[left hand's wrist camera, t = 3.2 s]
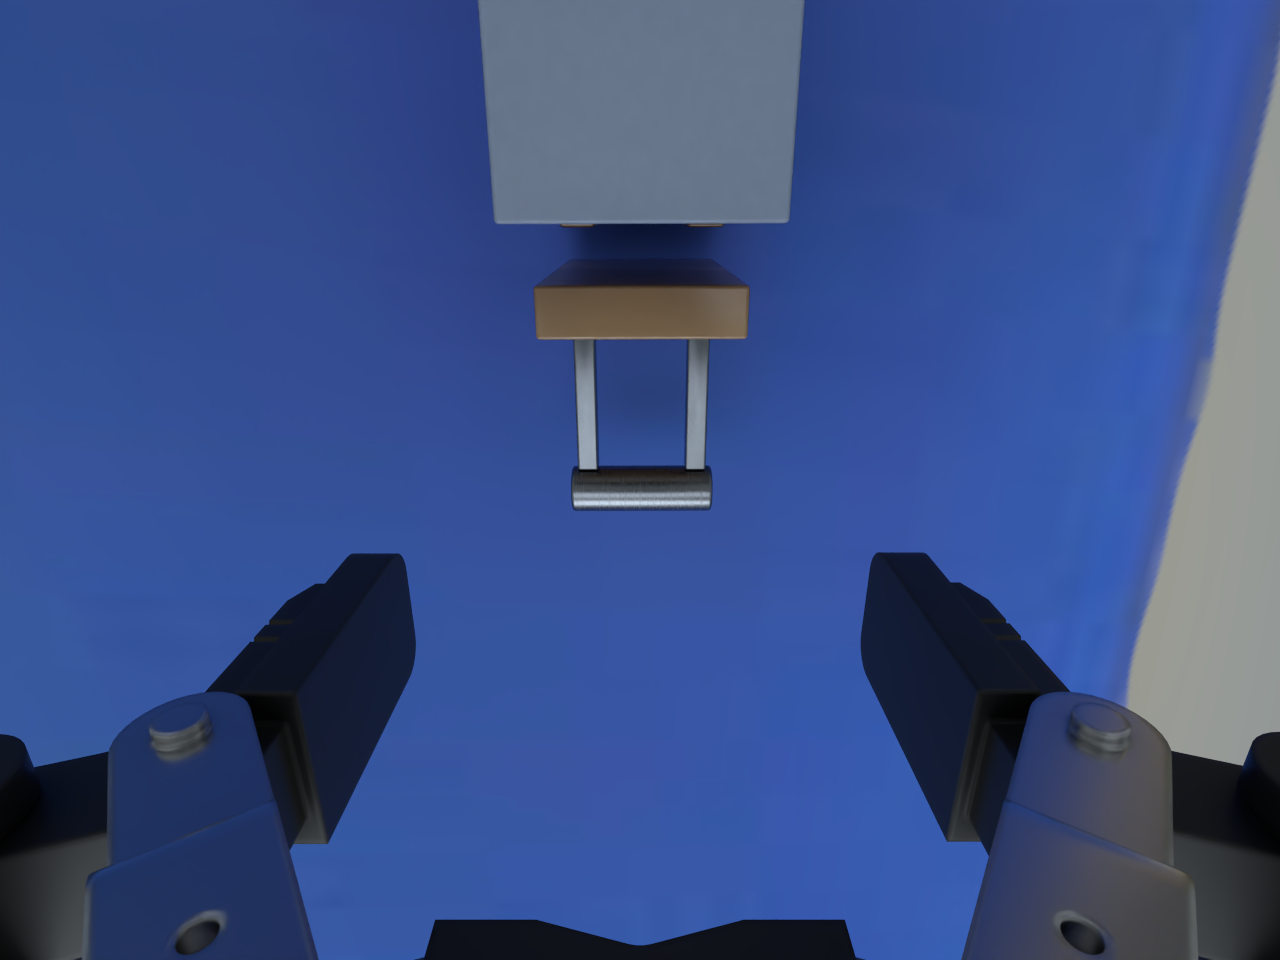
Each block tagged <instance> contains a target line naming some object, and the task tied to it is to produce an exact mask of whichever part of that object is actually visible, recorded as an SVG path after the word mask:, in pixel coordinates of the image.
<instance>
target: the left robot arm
mask: <svg viewBox="0 0 1280 960" xmlns="http://www.w3.org/2000/svg"><path fill="white" fill-rule="evenodd" d="M415 650H416V639H415V630H414V623H413V615H412V608H411V601H410V593H409V586H408V579H407V571H406V566H405V562H404V559H403V557H402V556H401V555H400V554H351V555H349V556H348V557H347V558H346V559H345V561H344V562H343V563H342V564H341V565H340V566H339V568H338V569H337V570H336V571H335V572H334V574H333V575H332V576H331V577H330V578H329V580H328V581H327V582H326V583H325V584H315V585H313V586H311V587H310V588H308V589H306V590H305V591H303V592H301V593H300V594H298V595H296V596H295V597H293V598H291V599H290V600H288V601H287V602H286V603H285V604H284V605H283V606H282V607H281V608H280V610H279V611H278V612H277V613H276V614H275V615H274V616H273V617H272V618H271V620H270V621H269V625H265V626H264V627H263V628H262V629H261V631H260V632H259V633H258V634H257V635H256V636H255V637H254V642H250V643H249V644H248V645H247V646H246V647H245V648H244V649H243V651H242V652H241V653H240V654H239V655H238V656H237V657H236V658H235V659H234V661H233V662H232V663H231V664H230V665H229V666H228V667H227V668H226V669H225V671H224V672H223V673H222V674H221V675H220V676H219V677H218V678H217V679H216V681H215V682H214V683H213V684H212V685H211V686H210V687H209V688H208V689H207V691H206V692H205V693H198V694H193V695H188V696H184V697H181V698H177V699H175V700H172V701H169V702H166V703H164V704H162V705H160V706H157V707H155V708H153V709H152V710H150V711H148V712H146V713H144V714H143V715H141V716H140V717H138V718H137V719H135V720H134V721H132V722H131V723H130V724H129V725H127V726H126V727H125V728H124V729H123V730H122V731H121V732H120V733H119V734H118V735H117V737H116V738H115V739H114V741H113V742H112V745H111V747H110V749H109V752H105V753H101V754H96V755H91V756H86V757H82V758H77V759H72V760H67V761H62V762H58V763H53V764H48V765H43V766H39V767H34V766H33V764H32V761H31V759H30V756H29V754H28V751H27V749H26V746H25V744H24V743H23V742H22V741H21V740H20V739H18V738H16V737H14V736H10V735H2V734H0V960H319V959H318V956H317V952H316V948H315V944H314V941H313V937H312V933H311V930H310V926H309V922H308V918H307V915H306V911H305V907H304V903H303V900H302V896H301V892H300V889H299V885H298V881H297V877H296V874H295V870H294V866H293V863H292V859H291V855H290V849H291V847H292V845H293V844H328V842H329V840H330V838H331V836H332V834H333V832H334V830H335V828H336V826H337V824H338V822H339V820H340V818H341V816H342V814H343V812H344V810H345V808H346V806H347V804H348V802H349V800H350V798H351V796H352V794H353V792H354V789H355V787H356V785H357V783H358V781H359V779H360V777H361V775H362V773H363V771H364V769H365V767H366V765H367V763H368V761H369V759H370V757H371V755H372V753H373V751H374V749H375V747H376V745H377V743H378V741H379V739H380V737H381V735H382V733H383V731H384V729H385V726H386V724H387V722H388V720H389V718H390V716H391V714H392V712H393V710H394V708H395V706H396V704H397V702H398V700H399V698H400V696H401V694H402V692H403V690H404V688H405V686H406V684H407V682H408V680H409V678H410V675H411V673H412V669H413V665H414V660H415ZM861 655H862V662H863V667H864V670H865V673H866V676H867V678H868V680H869V682H870V684H871V686H872V688H873V690H874V692H875V694H876V696H877V698H878V700H879V702H880V705H881V707H882V709H883V711H884V713H885V715H886V717H887V719H888V721H889V723H890V725H891V727H892V729H893V731H894V733H895V735H896V737H897V740H898V742H899V744H900V746H901V748H902V750H903V752H904V754H905V756H906V758H907V760H908V762H909V764H910V766H911V768H912V770H913V773H914V775H915V777H916V779H917V781H918V783H919V785H920V787H921V789H922V791H923V793H924V795H925V797H926V799H927V801H928V803H929V805H930V808H931V810H932V812H933V814H934V816H935V818H936V820H937V822H938V824H939V826H940V828H941V830H942V832H943V834H944V836H945V838H946V840H947V842H982V844H983V846H984V848H985V850H986V852H987V853H988V855H989V859H988V863H987V866H986V870H985V874H984V877H983V881H982V885H981V889H980V892H979V896H978V900H977V903H976V907H975V911H974V915H973V918H972V922H971V926H970V930H969V933H968V937H967V941H966V944H965V948H964V952H963V956H962V959H961V960H1280V732H1271V733H1266V734H1262V735H1260V736H1258V737H1256V739H1255V740H1254V741H1253V742H1252V745H1251V747H1250V750H1249V752H1248V755H1247V757H1246V760H1245V762H1244V765H1243V766H1241V765H1236V764H1231V763H1227V762H1222V761H1217V760H1212V759H1207V758H1203V757H1198V756H1193V755H1188V754H1183V753H1179V752H1174V751H1171V749H1170V747H1169V745H1168V743H1167V741H1166V739H1165V738H1164V737H1163V736H1162V734H1161V733H1160V732H1159V731H1158V730H1157V729H1156V728H1155V727H1154V726H1152V725H1151V724H1150V723H1149V722H1148V721H1146V720H1145V719H1143V718H1142V717H1140V716H1139V715H1137V714H1136V713H1134V712H1132V711H1130V710H1128V709H1127V708H1125V707H1123V706H1120V705H1118V704H1116V703H1114V702H1111V701H1108V700H1105V699H1103V698H1099V697H1096V696H1092V695H1087V694H1082V693H1075V692H1070V691H1069V690H1068V689H1067V687H1066V686H1065V685H1064V684H1063V683H1062V682H1061V681H1060V680H1059V678H1058V677H1057V676H1056V675H1055V674H1054V673H1053V672H1052V671H1051V669H1050V668H1049V667H1048V666H1047V665H1046V664H1045V663H1044V662H1043V661H1042V659H1041V658H1040V657H1039V656H1038V655H1037V654H1036V653H1035V652H1034V650H1033V649H1032V648H1031V647H1030V646H1029V645H1028V644H1027V643H1026V641H1025V640H1021V636H1020V635H1019V634H1018V632H1017V631H1016V630H1015V629H1014V628H1013V627H1012V626H1011V625H1010V623H1006V619H1005V618H1004V617H1003V616H1002V615H1001V613H1000V612H999V611H998V610H997V609H996V608H995V607H994V606H993V604H992V603H991V602H990V601H989V600H988V599H986V598H985V597H983V596H981V595H980V594H978V593H976V592H975V591H973V590H971V589H970V588H968V587H966V586H965V585H963V584H961V583H950V581H949V580H948V579H947V578H946V577H945V575H944V574H943V573H942V572H941V571H940V569H939V568H938V567H937V566H936V565H935V563H934V562H933V561H932V560H931V558H930V557H929V556H928V555H927V554H925V553H876V554H875V555H874V557H873V559H872V562H871V566H870V572H869V580H868V587H867V595H866V602H865V610H864V617H863V625H862V632H861ZM416 960H864V959H860V958H857V957H855V954H854V950H853V947H852V943H851V940H850V937H849V933H848V930H847V926H846V923H845V920H741V921H738V922H734V923H730V924H726V925H722V926H719V927H715V928H711V929H707V930H703V931H700V932H696V933H692V934H688V935H684V936H681V937H677V938H673V939H669V940H665V941H662V942H658V943H654V944H650V945H630V944H626V943H622V942H618V941H615V940H611V939H607V938H603V937H599V936H596V935H592V934H588V933H584V932H580V931H577V930H573V929H569V928H565V927H561V926H558V925H554V924H550V923H546V922H542V921H539V920H435V923H434V926H433V930H432V933H431V937H430V940H429V943H428V947H427V950H426V954H425V957H423V958H420V959H416Z"/></svg>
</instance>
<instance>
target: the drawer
mask: <svg viewBox="0 0 1280 960" xmlns="http://www.w3.org/2000/svg"><path fill="white" fill-rule="evenodd" d="M596 225H598V224H560V226H561V227H593V226H596ZM684 225H687V226H689V227H722V226H724V223H708V224H684ZM749 297H750V288H749V286H748V285H747V284H746V283H744V282H743V281H741V280H740V279H739V278H737V277H736V276H734V275H733V274H732V273H730V272H729V271H727V270H726V269H725V268H723V267H722V266H720V265H719V264H718V263H716V262H715V261H713V260H712V259H618V260H569V261H568V262H566V263H565V264H564V265H562V266H561V267H560V268H558V269H557V270H556V271H554V272H553V273H552V274H551V275H549V276H548V277H547V278H545V279H544V280H543V281H541V282H540V283H539V284H537V285H536V286H535V287H534V307H535V325H536V337H537V339H540V340H573V342H574V369H575V396H576V423H577V449H578V466H574V467H573V470H572V477H571V499H572V507H573V510H575V511H708V510H710V508H711V505H712V472H711V468H710V466H708V465H705V461H706V431H707V400H708V370H709V339H745V338H746V337H747V335H748V316H749ZM608 339H687V355H686V403H685V450H684V464H685V466H599V439H598V400H597V361H596V340H608Z"/></svg>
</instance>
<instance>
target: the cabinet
mask: <svg viewBox="0 0 1280 960" xmlns="http://www.w3.org/2000/svg"><path fill="white" fill-rule="evenodd" d="M804 3H805V0H478V9H479V23H480V37H481V50H482V64H483V77H484V91H485V105H486V118H487V132H488V145H489V159H490V172H491V186H492V200H493V213H494V221H495V223H497V224H708V223H787V222H788V221H789V218H790V204H791V189H792V175H793V161H794V146H795V132H796V118H797V103H798V89H799V75H800V60H801V46H802V32H803V17H804Z"/></svg>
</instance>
